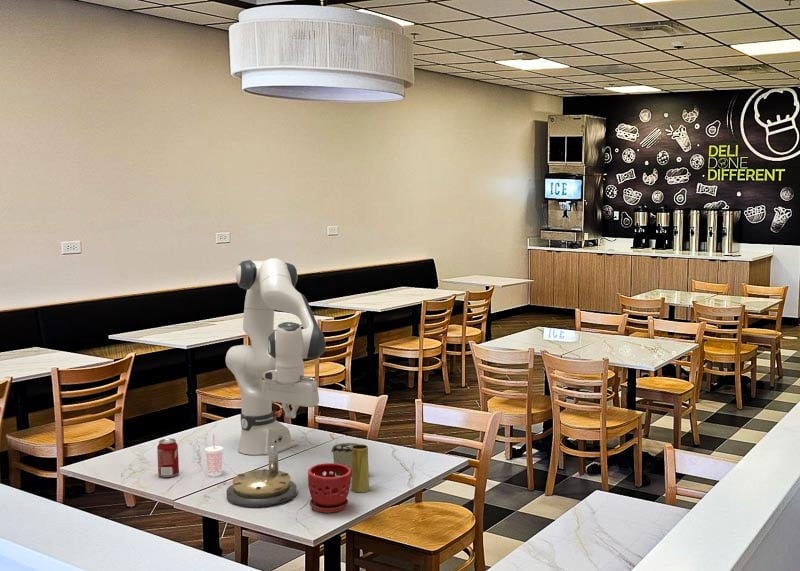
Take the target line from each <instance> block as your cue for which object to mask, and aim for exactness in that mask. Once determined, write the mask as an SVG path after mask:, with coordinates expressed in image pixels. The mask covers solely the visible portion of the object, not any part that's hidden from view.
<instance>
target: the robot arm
mask: <svg viewBox="0 0 800 571" xmlns="http://www.w3.org/2000/svg"><path fill="white" fill-rule="evenodd" d="M235 271H236V272H235V279H236V283H237V285H238V287H239V288H241V289H243V290H246V294H245V299H244V308H243V309H244V310H243V319H242V320H243V321H242V329H243V331H244V333H245V334H247V336H248V337H249V339H250V343H251V345H248V344H240V345H239V344H238V345H234V346H231V347H230V348H229V349H228V350H227V352H226V356H225V365H226V367H227V369H228V370H229V371H231V373H232V374H233V375H234V378H235V380H236V382H237V385H238V387H239V392H240V402H241V412H240V425H241V434H240V439H239V440H240V441H239V444H238V445H239V446H238V449H237V451H238V452H239V453H240V454H244V455H249V456H252V455H253V456H258V455H261V456H262V455H268V456H269V450H268V446H269V445H271V444H277V445H278V453H281V452H282V451H285V450H288V449H290V448H293V447H295V446H297V445H298V442H297V440H296V439H294V438H292V437H291V431H290V429H289V428H288V427H287V426H285V425H284V424H282V422H280V421H278V420H277V419H276V417H277V418H280V417H281V416H282V413H281V412H280V411H277V410H276V411H274V410H272V409H273V408H272V407H273V405H272V403H280V404H281V407H282V409H283V410H284V412H285V414H284V416H285V418H287V419H288V418H289V419H295V418H296V417H297V411H298V409H299V408H300V407H306V408H314V407H317V406H318V405H319V403H320V396H319V389H318V381H317V380H316V379H315V378H314V377H311V376H305V364H304V359H306V360H307V359H308V360H317V359H318V358H320V357H321V356H322V355H323V354H324V352H326V338H325V335H324V333H323V331H322V330H321V328H320V326H319V325H318V322H317V320H316V317H315V315H314V313H313V310H312V309H311V308H312V307H310V304H309V302H308V299H307V298H306V296H305V295H304V294H303V293H301V292H299V291H298V290H297V289H296V285H297V282H298V271H297V268H296V266H295V265H294V264H292V263H289V262H285V261H283V260H282V259H280V258H276V257H272V258H268V259H266V260H251V259H248V260H243V261H240V262H239V263H238V266H237V269H236V270H235ZM275 311H278V312H284V313H289V314H292V315H294V316H296V317H297V318H298V319H299V320H300V322H301V324H299V323H297V322H293V321H285V322H281V323H279V324H278V325H276V330H274V326H275V325H274V324H275V323H274V321H275V320H274V318H275ZM301 325H302V326H301ZM290 405H291V406H290ZM289 406H290V407H291V408H292V409H290V407H289Z"/></svg>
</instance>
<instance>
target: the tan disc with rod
mask: <svg viewBox="0 0 800 571" xmlns="http://www.w3.org/2000/svg"><path fill="white" fill-rule="evenodd" d="M268 450H269V455H268V469H266V468H264V469H255V470H249V471H245V472H242V473H239V474H237V475H236V476H234V477H233V479H232V485H233V492H234V493H235V494H236V495H238V496H241V497H246V498H268V497H274V496H278V495H281V494H283V493H285V492H287V491H288V490H289V489H290V481H291V476H290V474H289V473H288V472H285V471H284V470H283V471H282V470H279V452H278V445H277V444H271V445H269V446H268Z"/></svg>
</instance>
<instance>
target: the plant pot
mask: <svg viewBox="0 0 800 571" xmlns="http://www.w3.org/2000/svg"><path fill="white" fill-rule="evenodd" d="M337 471H338V472H340V474H341V476H336V474H335V473H336V472H337ZM324 472H325V475H324ZM331 472H332V474H331ZM351 480H352V477H351V469H350V468H349V467H347V466H345V465H341V464H335V463H334V462H332V463H330V462H328V463H319V464H316V465H312V466H311V467H309V468H308V471H307V485H308V486H307V487H308V491H309V495H310V497H311V498H310V500H309V505H310V507H311V508H312V509H313V510H315V511H317V512H320V513H335V512H340V511H343V510H344V509H345V508H346V507H347V506H348V505H349V504H348V503H349V500H348V496H349V493H350V490H351Z"/></svg>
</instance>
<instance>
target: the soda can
mask: <svg viewBox="0 0 800 571" xmlns="http://www.w3.org/2000/svg"><path fill="white" fill-rule="evenodd" d="M156 450H157V475H158V476H160V477H162V478H164V479H165V478H172V477H176V475H179V474H180V469H179V467H180V466H179V444H178V443H177V440H176V439H175V438H163V439H160V440H158V444H157V447H156Z"/></svg>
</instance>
